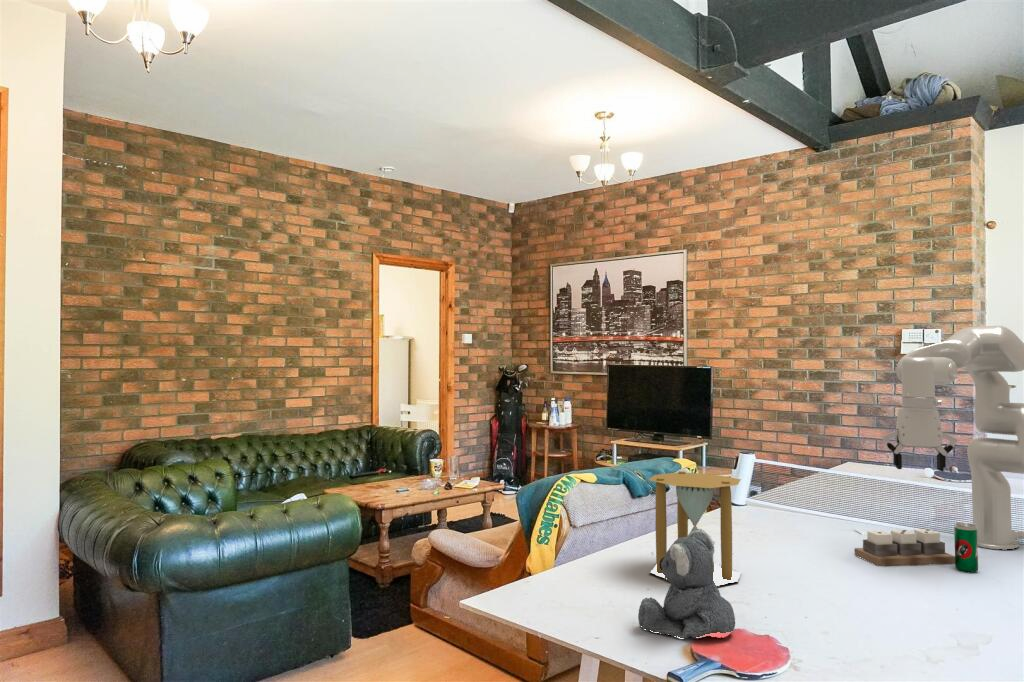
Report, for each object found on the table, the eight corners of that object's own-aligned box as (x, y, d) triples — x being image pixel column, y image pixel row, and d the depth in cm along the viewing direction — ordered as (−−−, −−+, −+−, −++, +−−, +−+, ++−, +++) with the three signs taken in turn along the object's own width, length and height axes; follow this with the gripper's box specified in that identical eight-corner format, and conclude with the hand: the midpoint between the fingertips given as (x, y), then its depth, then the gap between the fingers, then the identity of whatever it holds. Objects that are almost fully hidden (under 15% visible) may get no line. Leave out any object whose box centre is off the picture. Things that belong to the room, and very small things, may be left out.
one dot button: (882, 543, 194) (882, 530, 194) (892, 547, 190) (892, 534, 190) (867, 543, 194) (867, 530, 194) (877, 548, 189) (877, 534, 189)
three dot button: (905, 542, 195) (905, 529, 195) (916, 546, 190) (916, 533, 190) (891, 543, 194) (890, 529, 194) (901, 547, 190) (901, 533, 190)
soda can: (981, 573, 179) (980, 527, 179) (960, 572, 180) (959, 526, 180) (973, 568, 184) (971, 522, 184) (951, 567, 185) (950, 521, 185)
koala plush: (671, 607, 156) (670, 519, 156) (750, 626, 144) (749, 531, 145) (632, 630, 142) (631, 534, 143) (716, 654, 131) (715, 549, 132)
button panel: (927, 552, 199) (926, 535, 199) (955, 563, 188) (955, 545, 188) (854, 555, 196) (854, 537, 197) (879, 566, 186) (878, 547, 186)
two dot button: (928, 541, 195) (928, 528, 196) (940, 545, 191) (939, 532, 191) (914, 542, 195) (914, 529, 195) (925, 546, 191) (925, 533, 191)
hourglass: (632, 574, 180) (631, 477, 180) (676, 556, 196) (675, 467, 197) (717, 595, 164) (716, 488, 164) (757, 573, 180) (756, 477, 181)
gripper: (951, 404, 184) (952, 469, 183) (878, 402, 189) (879, 466, 188) (960, 405, 177) (961, 473, 176) (885, 404, 182) (885, 469, 181)
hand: (919, 469), depth 182 cm, fingers open, 9 cm apart
